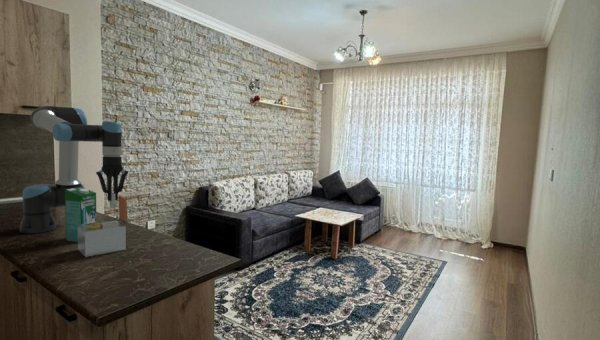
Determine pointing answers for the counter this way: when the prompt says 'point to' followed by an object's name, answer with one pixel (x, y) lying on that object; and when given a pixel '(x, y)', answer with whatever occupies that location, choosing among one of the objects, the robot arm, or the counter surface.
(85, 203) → the milk carton
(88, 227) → the brass pin
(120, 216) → the orange tab
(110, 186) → the robot arm
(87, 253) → the block
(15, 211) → the counter surface
